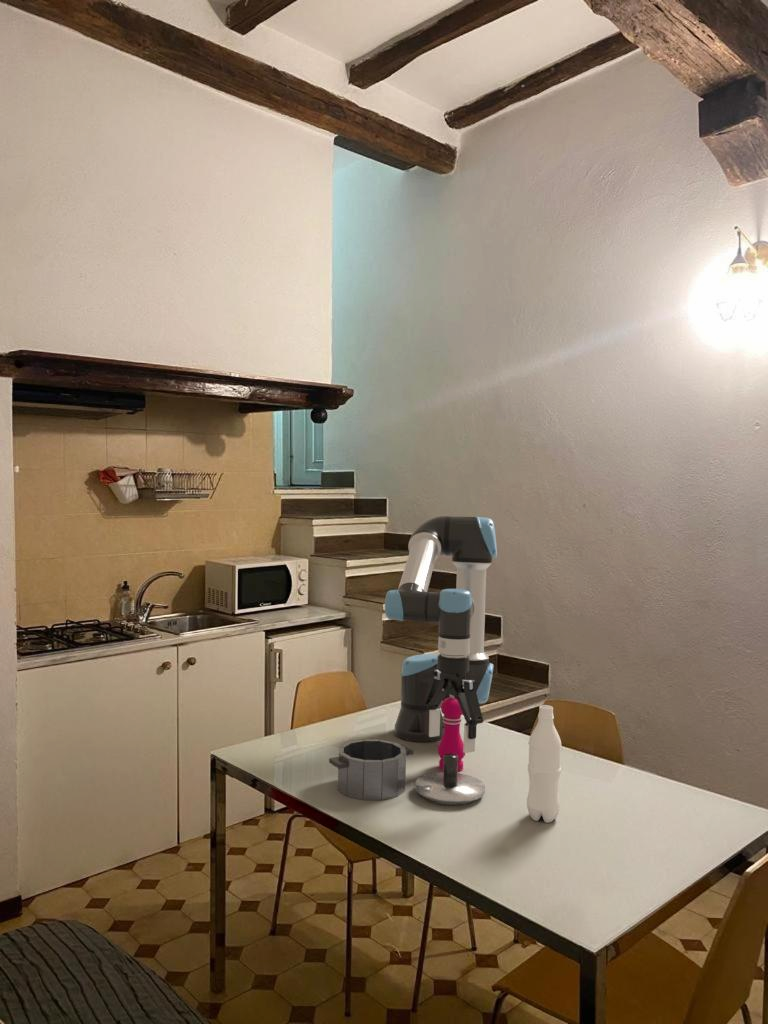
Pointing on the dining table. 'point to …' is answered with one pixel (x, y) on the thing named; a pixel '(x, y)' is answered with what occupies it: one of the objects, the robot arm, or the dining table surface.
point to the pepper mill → (451, 732)
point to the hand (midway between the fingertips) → (451, 743)
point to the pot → (371, 769)
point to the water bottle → (544, 767)
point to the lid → (450, 784)
